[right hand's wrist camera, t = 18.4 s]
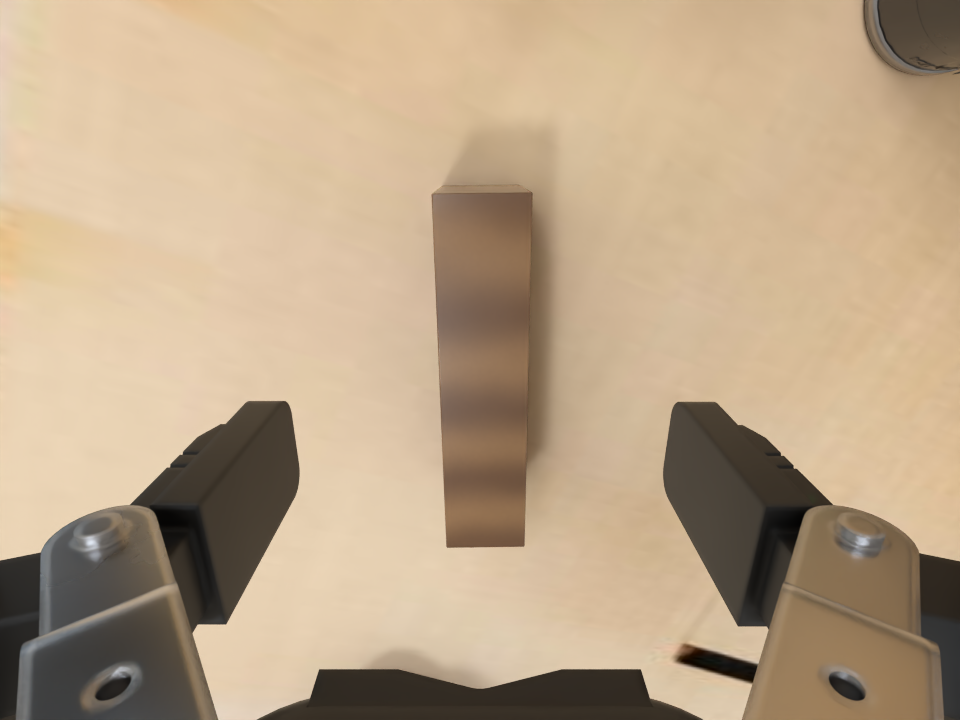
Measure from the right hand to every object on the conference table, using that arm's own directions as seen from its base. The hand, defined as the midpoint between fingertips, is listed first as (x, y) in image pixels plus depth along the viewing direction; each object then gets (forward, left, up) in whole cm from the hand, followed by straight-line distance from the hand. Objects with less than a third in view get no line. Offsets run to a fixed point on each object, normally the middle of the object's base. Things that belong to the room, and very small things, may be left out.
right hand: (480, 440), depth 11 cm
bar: (+7, 0, -27) cm, 28 cm away
